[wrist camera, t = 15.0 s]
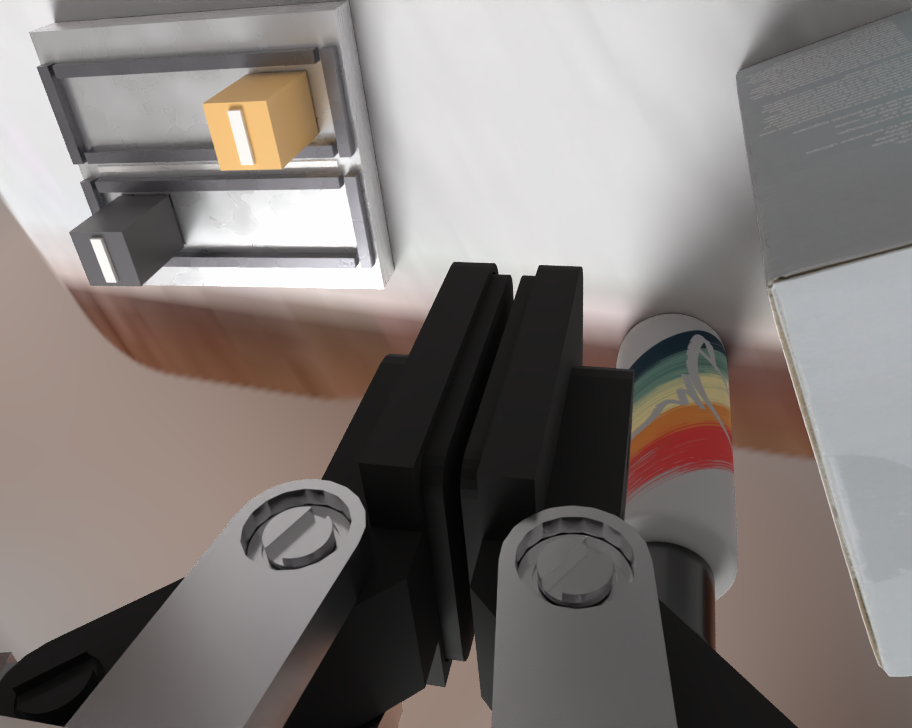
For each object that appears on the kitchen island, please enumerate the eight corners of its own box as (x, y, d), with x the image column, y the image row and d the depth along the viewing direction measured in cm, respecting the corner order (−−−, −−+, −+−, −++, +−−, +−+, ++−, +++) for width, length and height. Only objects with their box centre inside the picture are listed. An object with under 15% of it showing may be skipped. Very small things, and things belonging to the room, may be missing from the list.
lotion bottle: (746, 334, 43) (777, 657, 28) (696, 412, 47) (698, 739, 31) (644, 295, 44) (615, 594, 28) (602, 375, 47) (554, 683, 31)
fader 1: (119, 195, 45) (66, 233, 41) (168, 195, 44) (119, 233, 40) (136, 246, 47) (88, 287, 43) (184, 246, 46) (139, 288, 42)
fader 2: (246, 73, 39) (200, 105, 36) (305, 70, 39) (264, 102, 35) (262, 136, 41) (218, 172, 37) (318, 134, 40) (280, 170, 37)
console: (54, 22, 42) (21, 35, 40) (348, 0, 38) (329, 13, 36) (141, 268, 50) (117, 289, 48) (394, 270, 46) (380, 294, 44)
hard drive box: (976, 316, 40) (1162, 669, 24) (808, 353, 43) (874, 687, 27) (923, -5, 33) (1132, 194, 17) (727, 67, 36) (753, 291, 21)
